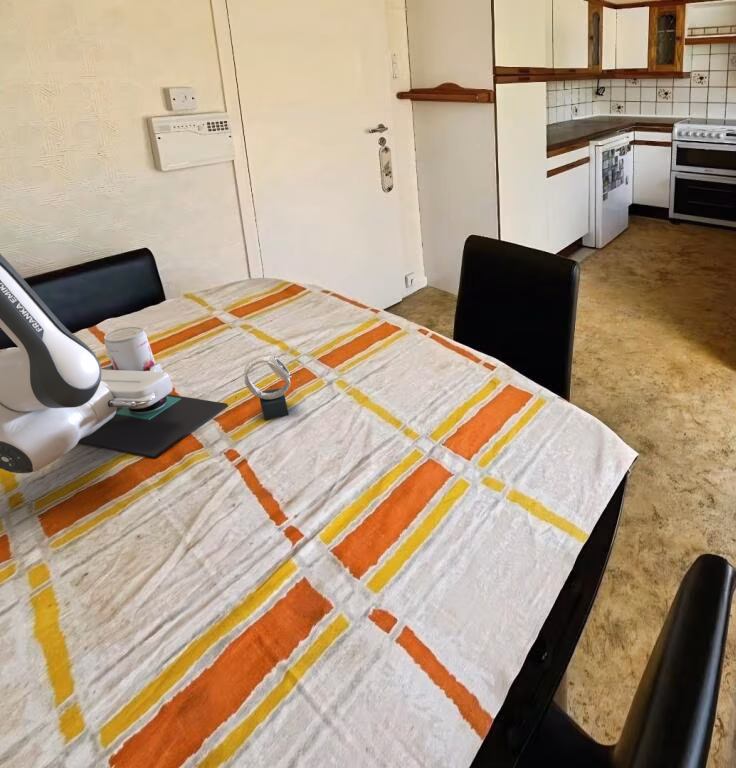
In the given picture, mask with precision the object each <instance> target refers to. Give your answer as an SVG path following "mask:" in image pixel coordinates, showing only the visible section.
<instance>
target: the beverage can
mask: <svg viewBox="0 0 736 768" xmlns="http://www.w3.org/2000/svg"><path fill="white" fill-rule="evenodd" d="M103 339H104V340H103V342H104V345H105V348H106V351H107V353H108V357H109V359H110V361H111V363H112V365H113V367H114V370H128V371H149V370H148V368H147V367H148V366H150V365H151V364H156V361H155V358H154V354H153V352H152V348H151V345H150V342H149V339H148V337H147V334H146V331H145V330H144V328H142V327H141V326H126V327H120V328H116V329H113V330H110V331H109V332H107V333H105V334H104V336H103ZM166 402H167V397H166V396H165V397H164V398H162V399H160V400H159V401H157V402H156V403H154V404H152V405H150V406H148V407H145V408H138V409H135V408H128V409H129V410H130V411H132V412H134V413H140V414H141V413H149V412H152V411H155V410H158V409H160V408H161V407H163V406H164V405H165V403H166Z"/></svg>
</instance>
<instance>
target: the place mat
mask: <svg viewBox="0 0 736 768" xmlns="http://www.w3.org/2000/svg"><path fill="white" fill-rule="evenodd" d="M166 396H169V397H175V398H181V400H179V401H178V402H176V403H175V404H173V405H171V406H170V407H168V408H167V409H165V410H164V411H162V412H161V413H159V414H158V415H156V416H154V417H153V418H151V419H150V420H145V419H140V418H134V417H128V416H122V415H117V414H115V415H114V417H113V418H112V419H110V420H109V421H108V422H106V423H105V424H104V425H102V426H101V427H100V428H98V429H97V430H96V431H95V432H93V433H92V434H90V435H89V436H86V437H83V438H81V439H80V440H79V441H78V443H77V444H76V445H82V446H87V447H88V446H89V447H92V448H98V449H103V450H109V451H113V452H119V453H124V454H129V455H133V456H139V457H145V458H150V459H154V460H155V459H157V458H158V457H160V456H162V454H164V453H165V452H167V451H168V450H169V449H171V448H173V446H175V445H176V444H178V443H179V442H181V441H182V440H184V439H185V438H186V437H188V436H189V435H191V433H193V432H194V431H196V430H197V429H198V428H200V427H201V426H202V425H204V424H205V423H207V422H208V421H210V420H211V419H212V418H214V417H215V416H217V415H218V414H219V413H221V412H222V411H223V410H225V409H226V408H227V407H229V404H228V403H227V402H226V403H225V402H219V401H212V400H207V399H201V398H195V397H188V396H182V395H176V394H171V393H169V394H168V395H166ZM121 409H123V408H117V409H116V412H118V411H119V410H121Z"/></svg>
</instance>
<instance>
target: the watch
mask: <svg viewBox="0 0 736 768" xmlns="http://www.w3.org/2000/svg"><path fill="white" fill-rule="evenodd" d="M262 363H263V364H264V363H266V365H268V366H269V367H270V369H271V371H273V373H274V374H275V375H276V376H277V377H278V378H280V379H281V380H283V381H285V383H284V384H283V386H282V387H279V388H274V389H268V390H264V391H261V389H260V388H258V387H257V386H256V385H255V384H253V382H252V381H251V379H250V378H249V376H248V375H249V373H250V371H251V369H253V368H254V367H255V366H256V365H260V364H262ZM243 377H244V385H245V386H246V388H247V389H248V390H249V392H251V394H253V395H254V397H256V398H258V399H259V402H260V407H261V412H262V416H263V420H264V421H269V420H273V419H277V418H283V417H287V416H290V413H289V410H288V403H287V400H286V399H287V398H286V395H285V394H286V393H287V392H288V390H289V388H290V386H291V378H292V373H291V371H290V370H289V369H288V367H287V365H285V364H284V362H282V361H281V360H280V359H279V358H278V357H277V356H276V355H273V356H270V355H260V356H257V357H255V358H253V359H252V360H251V359H250V361H249V362H248V363H247V364H246V366H245V368H244V372H243Z"/></svg>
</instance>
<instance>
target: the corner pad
mask: <svg viewBox="0 0 736 768" xmlns="http://www.w3.org/2000/svg"><path fill="white" fill-rule="evenodd" d="M166 397H167V402H166V403H165V405H164V406H163V407H161V408H160V409H158V410H155V411H152V412H149V413H141V414H140V413H134V412H132V411H130V410H129V409H128V408H123V409H121V410H119V411H118V412H116V413H115V414H117V415H122V416H128V417H134V418H140V419H145V420H150V419H151V418H153V417H154V416H156V415H158V414H159V413H161V412H162V411H164V410H165V409H167V408H168V407H170V406H171V405H173V404H175V403H176V402H178V401H179V400H181V398H175V397H169V396H166Z"/></svg>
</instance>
